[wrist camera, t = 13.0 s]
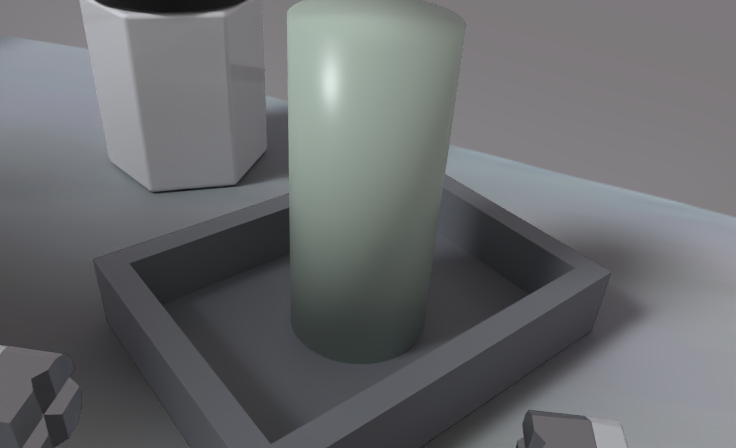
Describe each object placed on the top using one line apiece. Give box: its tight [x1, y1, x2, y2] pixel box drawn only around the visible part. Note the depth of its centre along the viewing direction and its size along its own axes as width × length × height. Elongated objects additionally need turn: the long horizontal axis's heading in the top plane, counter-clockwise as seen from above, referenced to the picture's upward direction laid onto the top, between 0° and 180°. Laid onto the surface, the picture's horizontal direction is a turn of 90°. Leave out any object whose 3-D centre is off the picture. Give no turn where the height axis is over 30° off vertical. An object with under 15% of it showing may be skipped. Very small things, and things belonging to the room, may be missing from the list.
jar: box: [79, 0, 267, 192], centre depth 34 cm, size 9×8×12 cm
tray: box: [93, 174, 611, 448], centre depth 26 cm, size 16×12×3 cm
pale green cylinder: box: [287, 0, 466, 364], centre depth 23 cm, size 5×5×12 cm
